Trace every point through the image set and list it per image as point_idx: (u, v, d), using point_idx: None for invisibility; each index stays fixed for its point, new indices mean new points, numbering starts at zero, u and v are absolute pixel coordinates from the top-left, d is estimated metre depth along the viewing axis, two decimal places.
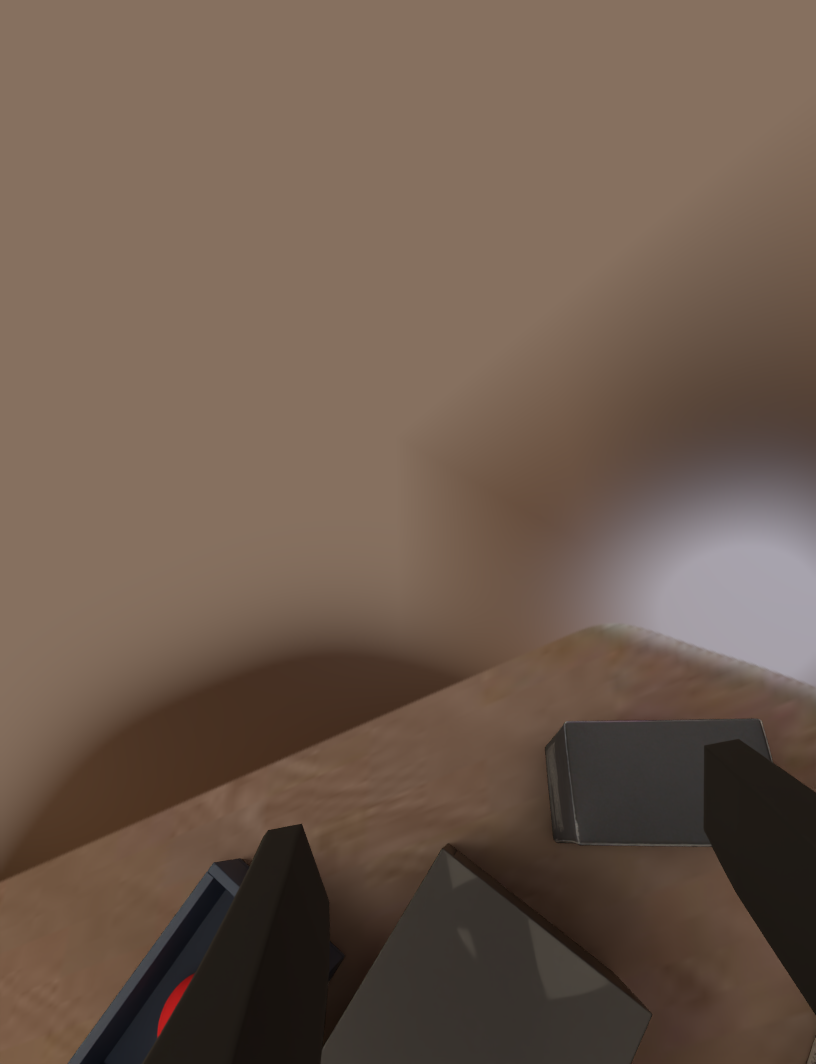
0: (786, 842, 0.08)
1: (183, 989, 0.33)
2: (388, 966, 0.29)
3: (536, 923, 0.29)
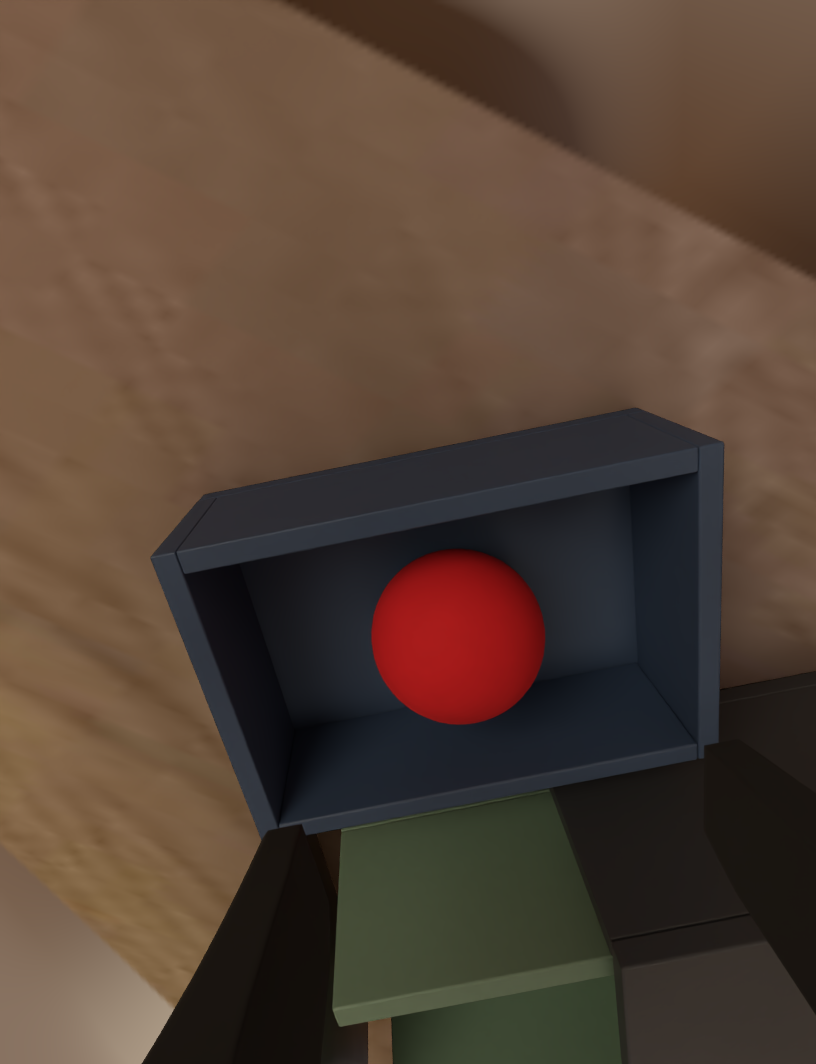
0: (786, 842, 0.08)
1: (492, 600, 0.14)
2: None
3: None
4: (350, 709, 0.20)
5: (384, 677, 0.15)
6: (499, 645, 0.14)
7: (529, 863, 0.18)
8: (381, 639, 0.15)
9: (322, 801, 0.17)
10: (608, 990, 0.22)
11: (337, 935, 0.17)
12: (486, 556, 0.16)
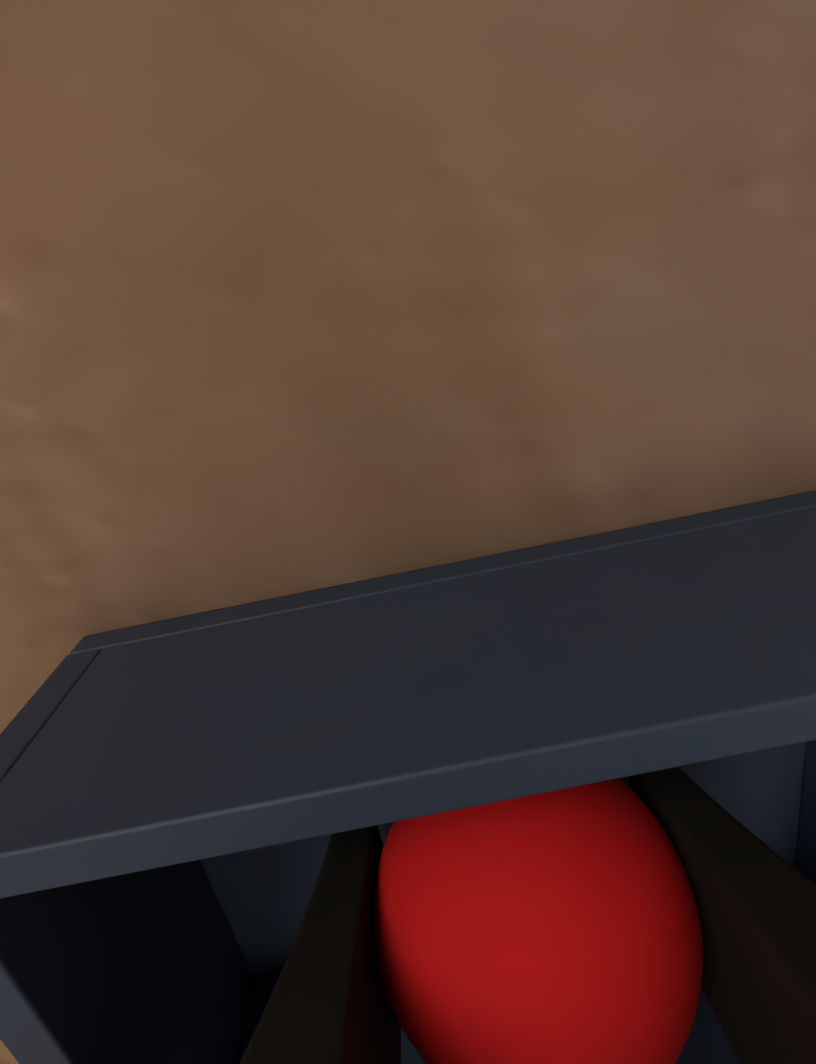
0: (692, 860, 0.08)
1: (621, 913, 0.07)
2: None
3: None
4: None
5: None
6: (639, 1022, 0.07)
7: None
8: (392, 961, 0.08)
9: None
10: None
11: None
12: None
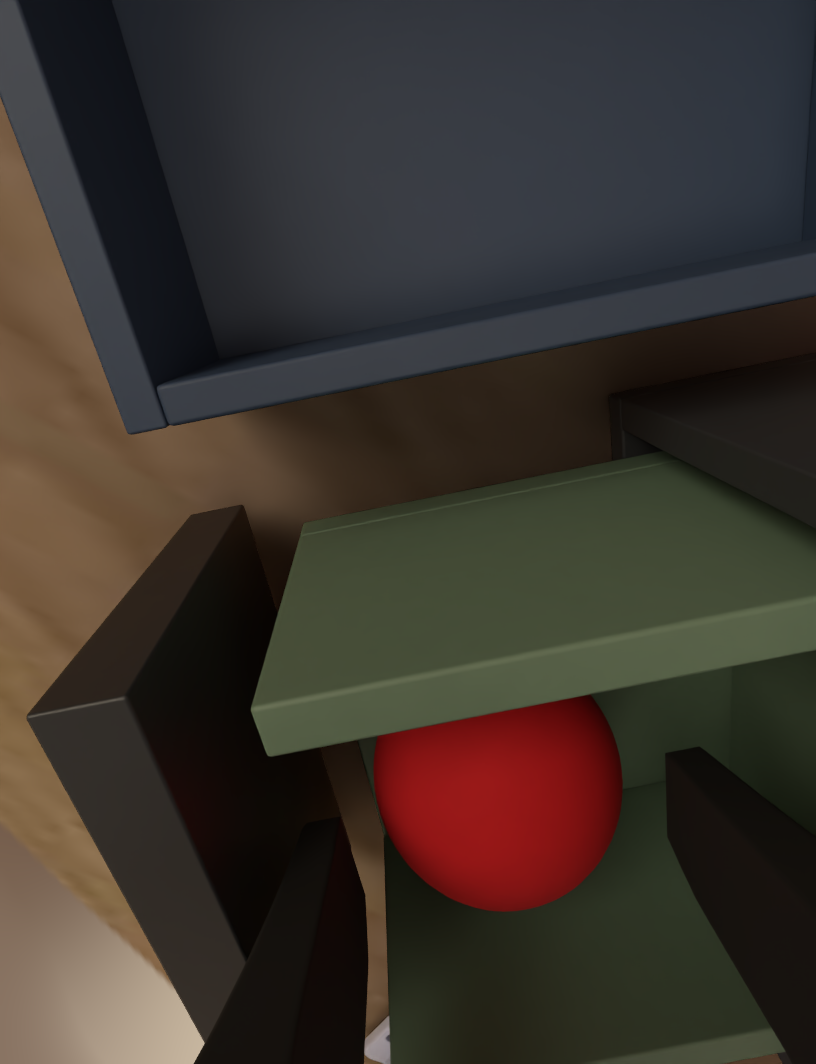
0: (738, 851, 0.08)
1: (555, 743, 0.10)
2: None
3: None
4: (313, 321, 0.12)
5: (392, 840, 0.11)
6: (565, 816, 0.09)
7: (637, 521, 0.10)
8: (388, 791, 0.10)
9: (247, 364, 0.09)
10: None
11: (276, 625, 0.09)
12: None
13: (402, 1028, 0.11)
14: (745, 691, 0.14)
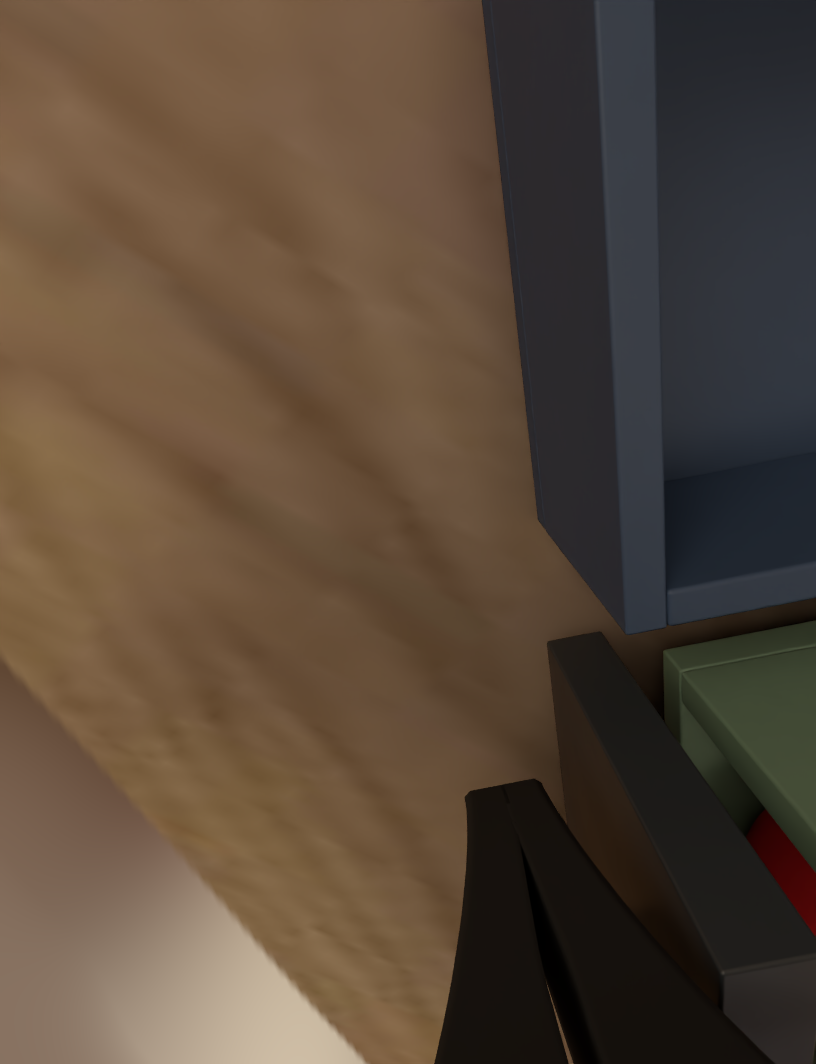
0: (535, 890, 0.08)
1: None
2: None
3: None
4: (672, 462, 0.11)
5: None
6: None
7: None
8: None
9: (734, 557, 0.08)
10: None
11: (807, 816, 0.08)
12: None
13: None
14: None
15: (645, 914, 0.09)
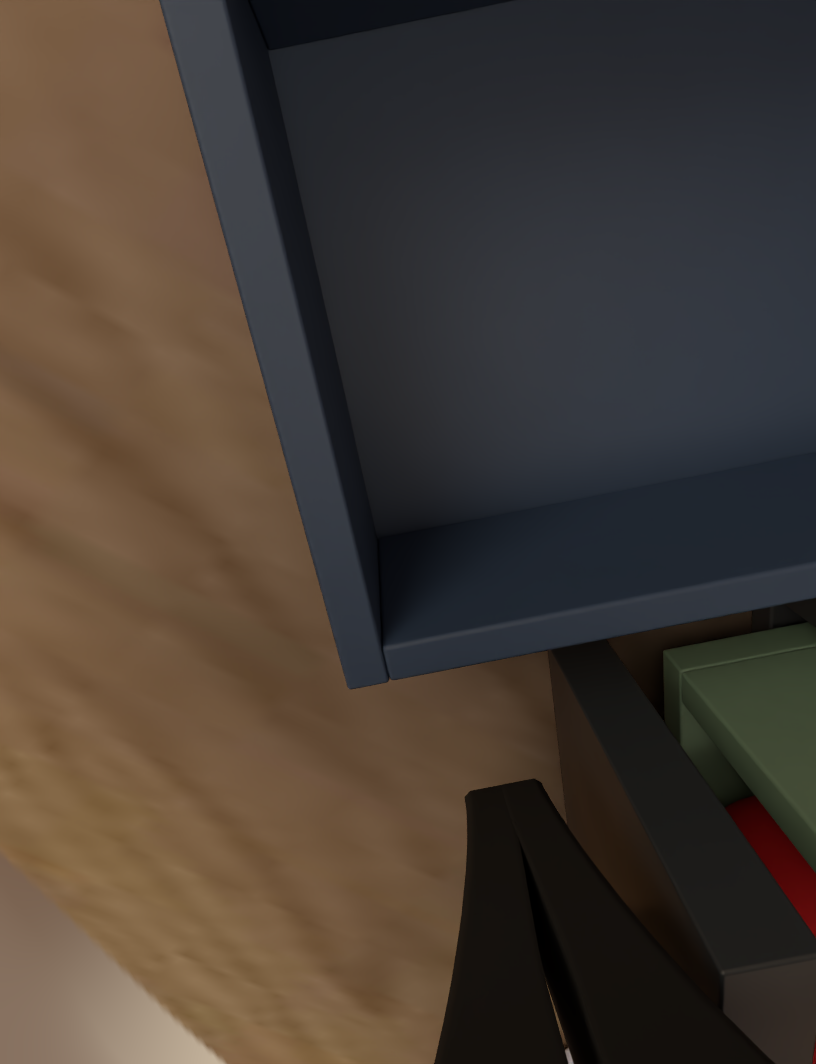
0: (535, 890, 0.08)
1: None
2: None
3: None
4: (474, 501, 0.12)
5: None
6: None
7: None
8: None
9: (464, 610, 0.08)
10: None
11: (807, 816, 0.08)
12: None
13: None
14: None
15: (645, 914, 0.09)
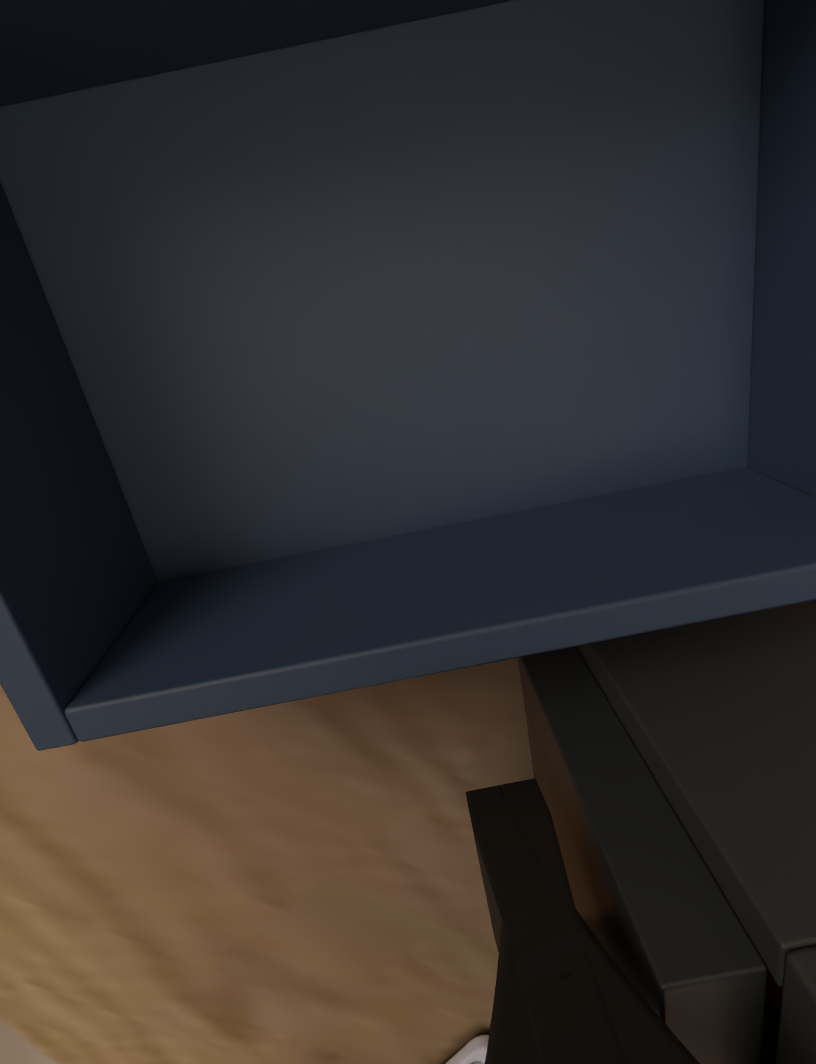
0: (493, 899, 0.08)
1: None
2: None
3: None
4: (252, 546, 0.12)
5: None
6: None
7: None
8: None
9: (162, 669, 0.09)
10: None
11: None
12: None
13: None
14: None
15: (602, 924, 0.09)
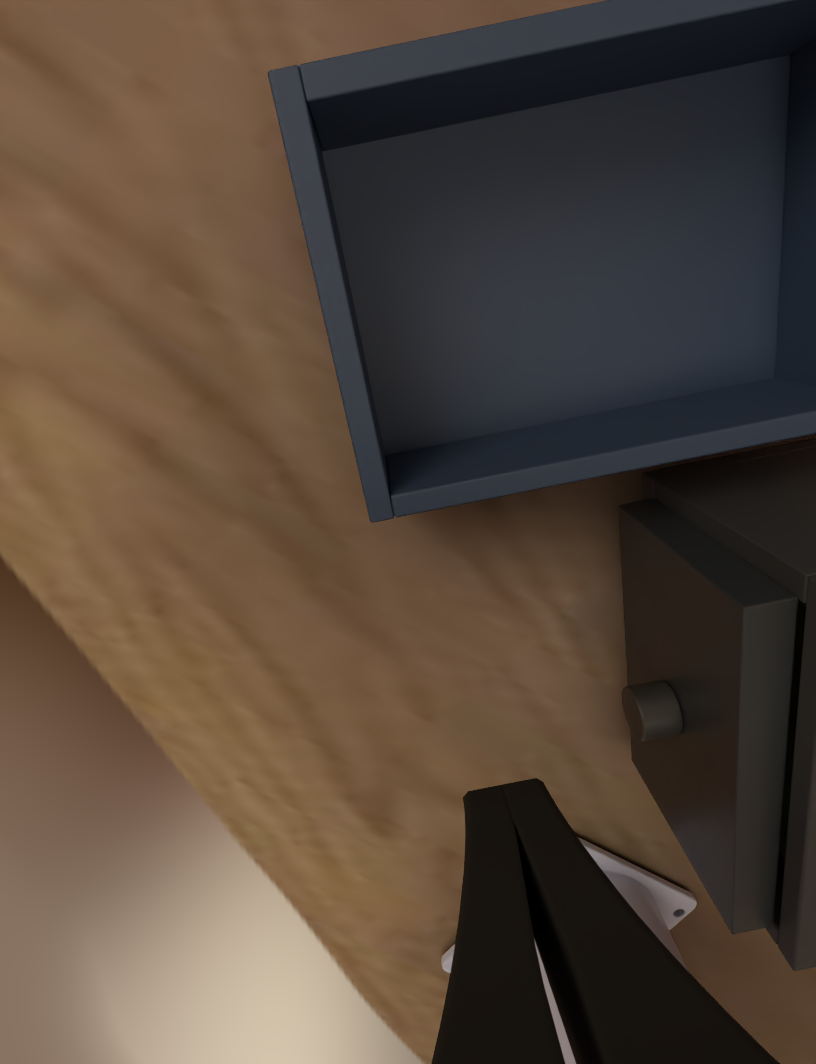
0: (538, 890, 0.08)
1: None
2: None
3: None
4: (449, 430, 0.18)
5: None
6: None
7: None
8: None
9: (438, 479, 0.14)
10: None
11: None
12: None
13: None
14: None
15: (694, 635, 0.15)
